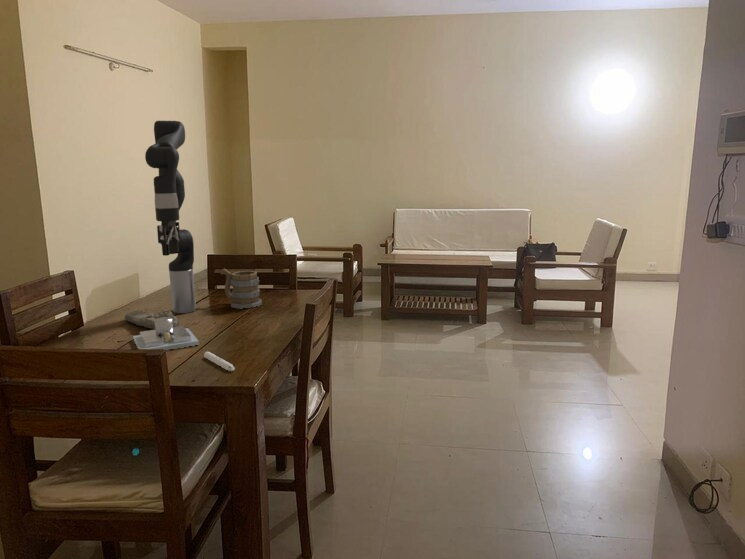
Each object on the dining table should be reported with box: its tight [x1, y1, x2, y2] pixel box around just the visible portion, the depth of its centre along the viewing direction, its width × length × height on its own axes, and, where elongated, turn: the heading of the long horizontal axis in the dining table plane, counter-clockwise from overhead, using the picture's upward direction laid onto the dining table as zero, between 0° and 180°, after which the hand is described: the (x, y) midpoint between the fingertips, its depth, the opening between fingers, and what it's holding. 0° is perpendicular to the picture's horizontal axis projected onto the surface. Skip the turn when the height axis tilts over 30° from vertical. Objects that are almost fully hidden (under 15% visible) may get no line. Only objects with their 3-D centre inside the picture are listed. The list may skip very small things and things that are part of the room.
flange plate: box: [139, 317, 191, 347], centre depth 184 cm, size 14×14×7 cm
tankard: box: [219, 268, 263, 310], centre depth 236 cm, size 20×13×15 cm, turn 58°
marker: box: [203, 351, 236, 372], centre depth 163 cm, size 18×2×2 cm, turn 40°
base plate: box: [132, 327, 200, 352], centre depth 184 cm, size 18×18×4 cm
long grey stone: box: [124, 310, 179, 330], centre depth 204 cm, size 35×5×10 cm
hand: (170, 253), depth 192 cm, fingers open, 8 cm apart
